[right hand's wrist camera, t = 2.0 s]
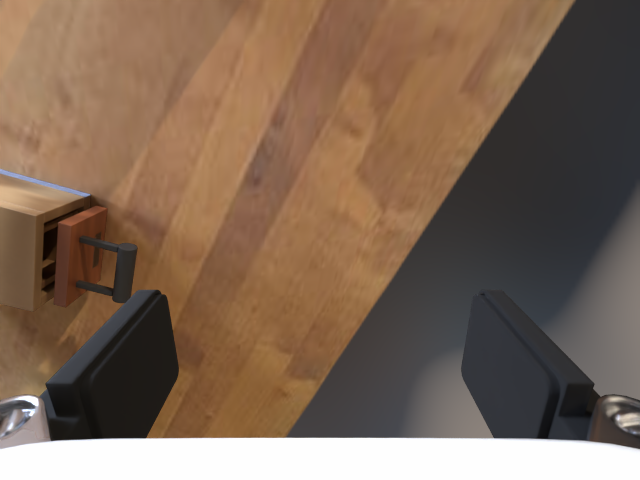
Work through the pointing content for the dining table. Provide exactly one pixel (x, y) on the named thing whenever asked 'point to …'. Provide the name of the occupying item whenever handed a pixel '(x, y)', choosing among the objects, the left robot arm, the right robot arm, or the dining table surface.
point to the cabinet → (29, 235)
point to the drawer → (83, 257)
